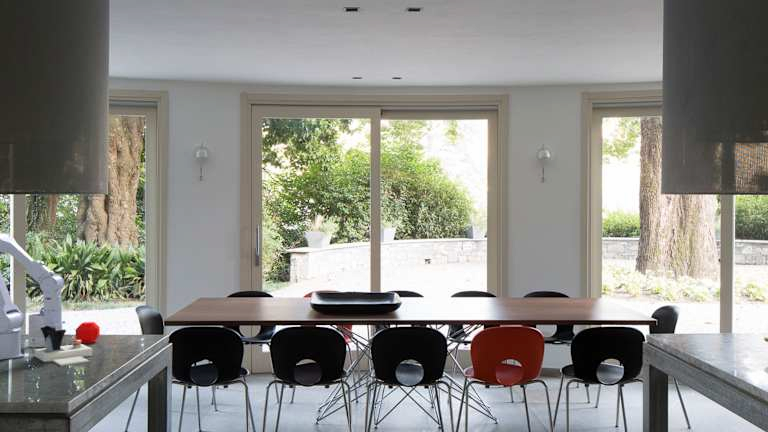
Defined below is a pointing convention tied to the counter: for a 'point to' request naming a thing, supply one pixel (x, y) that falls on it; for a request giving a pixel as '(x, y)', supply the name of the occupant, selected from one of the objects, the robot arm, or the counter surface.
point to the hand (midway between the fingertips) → (53, 348)
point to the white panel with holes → (63, 353)
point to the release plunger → (76, 343)
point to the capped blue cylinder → (49, 345)
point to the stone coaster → (70, 360)
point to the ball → (88, 332)
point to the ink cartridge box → (36, 330)
